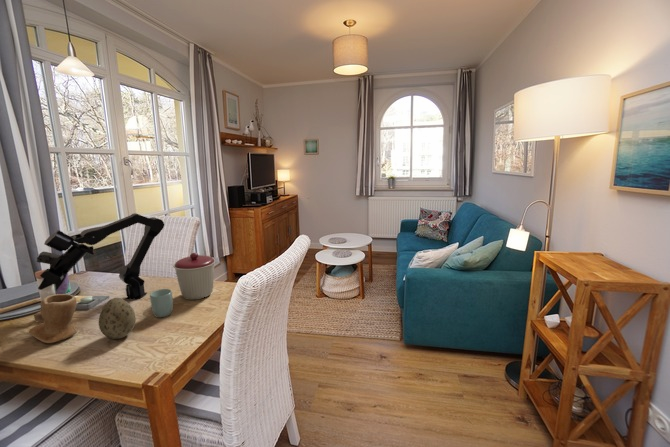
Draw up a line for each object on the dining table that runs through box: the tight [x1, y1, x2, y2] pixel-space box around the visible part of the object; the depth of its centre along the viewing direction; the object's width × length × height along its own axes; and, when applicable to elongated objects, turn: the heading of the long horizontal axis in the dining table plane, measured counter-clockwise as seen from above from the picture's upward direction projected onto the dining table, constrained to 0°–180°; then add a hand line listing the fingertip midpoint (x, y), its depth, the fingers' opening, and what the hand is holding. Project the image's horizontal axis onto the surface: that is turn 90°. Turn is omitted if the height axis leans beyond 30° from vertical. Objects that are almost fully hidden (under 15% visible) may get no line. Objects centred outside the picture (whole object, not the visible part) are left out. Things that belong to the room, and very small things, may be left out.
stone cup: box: [28, 293, 77, 344], centre depth 111 cm, size 15×12×15 cm
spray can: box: [49, 264, 72, 295], centre depth 141 cm, size 6×6×20 cm
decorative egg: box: [98, 297, 137, 340], centre depth 109 cm, size 11×11×15 cm
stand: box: [33, 310, 44, 323], centre depth 124 cm, size 7×7×3 cm
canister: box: [172, 252, 216, 301], centre depth 143 cm, size 18×18×21 cm
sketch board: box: [74, 295, 110, 311], centre depth 136 cm, size 16×12×2 cm
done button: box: [80, 295, 93, 304], centre depth 133 cm, size 4×4×2 cm
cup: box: [149, 288, 174, 318], centre depth 126 cm, size 8×8×10 cm
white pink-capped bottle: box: [34, 269, 56, 302], centre depth 121 cm, size 5×5×12 cm
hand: (41, 286), depth 121 cm, fingers closed on white pink-capped bottle, 4 cm apart
